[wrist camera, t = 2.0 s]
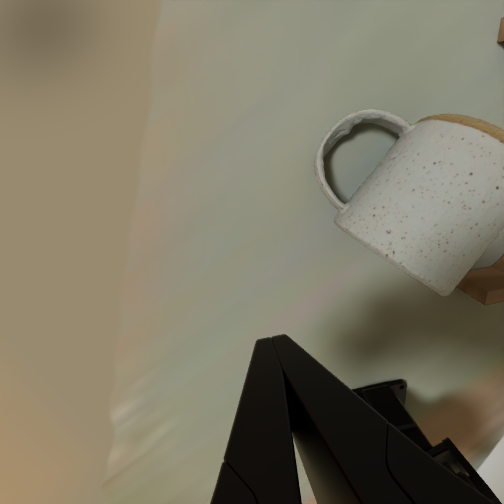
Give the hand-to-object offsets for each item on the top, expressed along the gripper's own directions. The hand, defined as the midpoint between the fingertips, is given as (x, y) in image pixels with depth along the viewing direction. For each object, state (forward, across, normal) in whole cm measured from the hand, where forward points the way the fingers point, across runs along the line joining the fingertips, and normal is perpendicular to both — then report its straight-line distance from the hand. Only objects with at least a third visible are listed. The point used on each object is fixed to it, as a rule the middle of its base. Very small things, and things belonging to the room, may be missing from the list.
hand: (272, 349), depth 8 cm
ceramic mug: (+13, -10, 0) cm, 17 cm away
